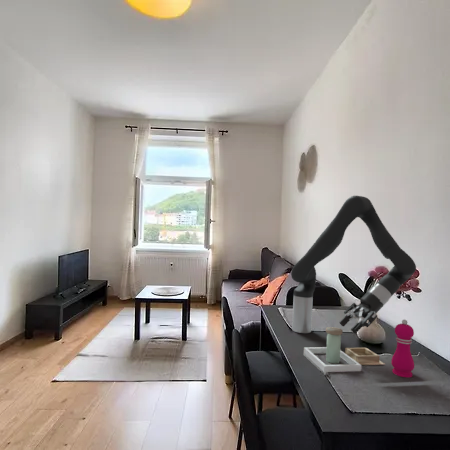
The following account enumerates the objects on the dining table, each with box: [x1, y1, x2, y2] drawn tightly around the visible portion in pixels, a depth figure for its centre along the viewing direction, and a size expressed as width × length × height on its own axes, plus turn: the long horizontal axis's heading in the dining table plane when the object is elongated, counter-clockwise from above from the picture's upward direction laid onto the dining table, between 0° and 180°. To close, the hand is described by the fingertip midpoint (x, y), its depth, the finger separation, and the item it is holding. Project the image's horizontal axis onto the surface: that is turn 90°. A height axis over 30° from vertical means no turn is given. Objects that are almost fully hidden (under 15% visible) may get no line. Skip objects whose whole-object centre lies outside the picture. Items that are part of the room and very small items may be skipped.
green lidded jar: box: [325, 326, 343, 364], centre depth 131 cm, size 6×6×12 cm
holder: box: [344, 347, 385, 366], centre depth 134 cm, size 12×12×4 cm
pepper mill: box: [390, 319, 415, 378], centre depth 122 cm, size 7×7×20 cm
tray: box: [303, 346, 362, 376], centre depth 130 cm, size 18×14×3 cm
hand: (346, 328), depth 131 cm, fingers open, 8 cm apart
